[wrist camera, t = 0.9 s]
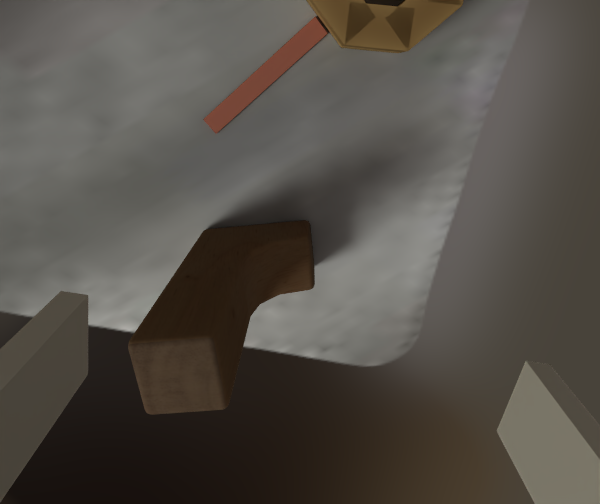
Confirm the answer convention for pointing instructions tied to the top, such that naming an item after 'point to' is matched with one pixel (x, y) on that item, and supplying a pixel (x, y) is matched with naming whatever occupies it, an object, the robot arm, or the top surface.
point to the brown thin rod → (266, 75)
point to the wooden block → (215, 312)
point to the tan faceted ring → (382, 22)
